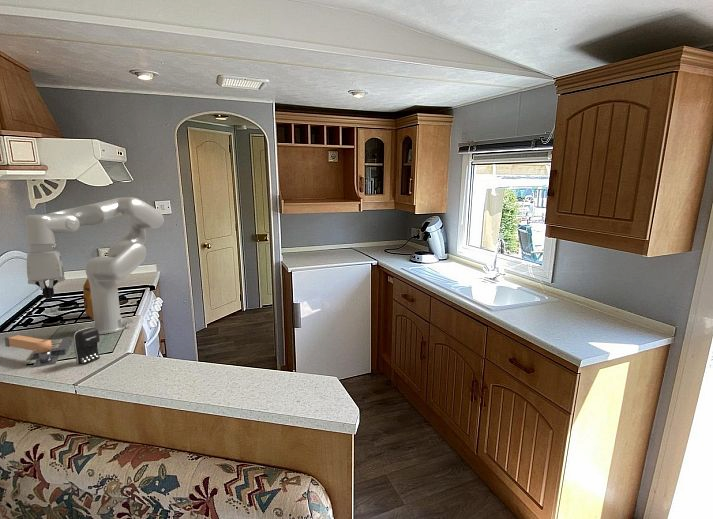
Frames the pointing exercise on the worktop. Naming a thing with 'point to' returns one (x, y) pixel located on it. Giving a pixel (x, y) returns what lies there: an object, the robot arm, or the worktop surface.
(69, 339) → the label panel
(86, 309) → the coffee package
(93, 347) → the battery charger
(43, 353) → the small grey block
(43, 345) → the swing bar
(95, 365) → the worktop surface
